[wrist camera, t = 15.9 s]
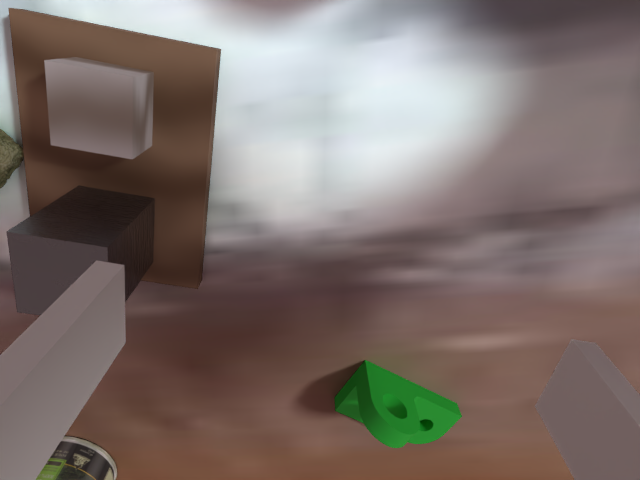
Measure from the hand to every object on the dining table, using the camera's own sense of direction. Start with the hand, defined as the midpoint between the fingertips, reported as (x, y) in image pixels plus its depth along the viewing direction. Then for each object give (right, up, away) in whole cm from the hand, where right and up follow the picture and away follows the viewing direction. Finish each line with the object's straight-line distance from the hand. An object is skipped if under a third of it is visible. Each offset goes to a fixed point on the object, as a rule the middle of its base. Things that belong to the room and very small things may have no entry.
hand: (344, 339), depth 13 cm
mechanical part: (+8, -14, +35) cm, 38 cm away
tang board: (-17, +9, +23) cm, 30 cm away
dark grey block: (-18, +4, +23) cm, 30 cm away
